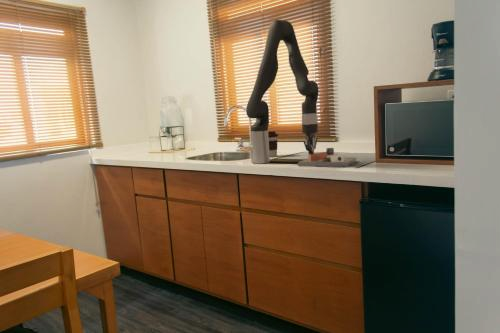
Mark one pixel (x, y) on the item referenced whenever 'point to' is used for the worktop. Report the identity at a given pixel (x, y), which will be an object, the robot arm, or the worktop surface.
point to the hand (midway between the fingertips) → (311, 158)
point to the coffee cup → (272, 143)
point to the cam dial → (322, 155)
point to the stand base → (330, 162)
